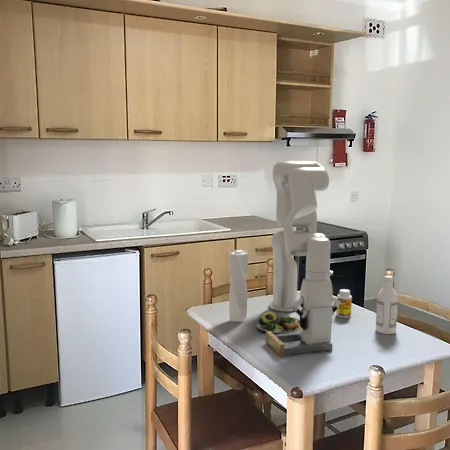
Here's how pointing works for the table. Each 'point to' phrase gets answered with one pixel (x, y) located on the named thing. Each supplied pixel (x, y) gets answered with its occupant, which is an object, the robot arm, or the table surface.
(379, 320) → the bath foam
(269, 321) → the salad plate
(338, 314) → the supplement bottle
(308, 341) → the supplement box
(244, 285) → the skyscraper
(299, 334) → the channel bracket
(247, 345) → the table surface
